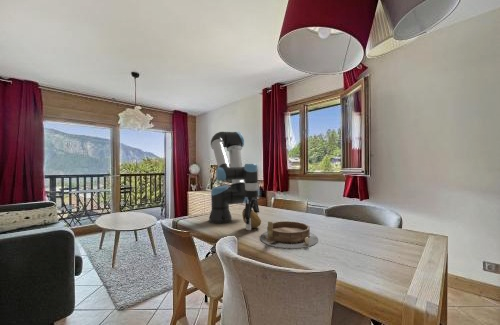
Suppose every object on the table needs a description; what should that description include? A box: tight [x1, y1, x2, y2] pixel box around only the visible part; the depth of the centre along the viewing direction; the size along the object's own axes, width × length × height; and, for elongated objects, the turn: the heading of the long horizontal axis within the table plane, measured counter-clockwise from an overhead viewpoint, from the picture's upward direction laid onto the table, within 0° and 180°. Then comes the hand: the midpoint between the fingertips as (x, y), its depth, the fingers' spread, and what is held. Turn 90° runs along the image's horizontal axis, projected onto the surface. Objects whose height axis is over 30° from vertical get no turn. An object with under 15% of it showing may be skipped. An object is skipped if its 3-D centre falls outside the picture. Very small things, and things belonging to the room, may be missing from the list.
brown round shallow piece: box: [266, 220, 311, 243], centre depth 115 cm, size 25×21×9 cm
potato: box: [241, 207, 262, 229], centre depth 134 cm, size 10×14×8 cm
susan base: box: [259, 231, 319, 250], centre depth 117 cm, size 29×29×4 cm
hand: (252, 226), depth 134 cm, fingers open, 13 cm apart
